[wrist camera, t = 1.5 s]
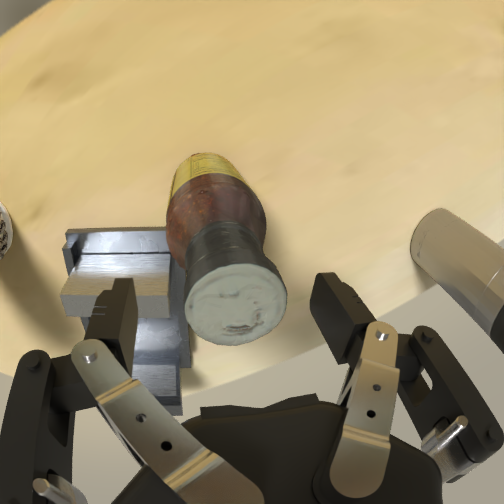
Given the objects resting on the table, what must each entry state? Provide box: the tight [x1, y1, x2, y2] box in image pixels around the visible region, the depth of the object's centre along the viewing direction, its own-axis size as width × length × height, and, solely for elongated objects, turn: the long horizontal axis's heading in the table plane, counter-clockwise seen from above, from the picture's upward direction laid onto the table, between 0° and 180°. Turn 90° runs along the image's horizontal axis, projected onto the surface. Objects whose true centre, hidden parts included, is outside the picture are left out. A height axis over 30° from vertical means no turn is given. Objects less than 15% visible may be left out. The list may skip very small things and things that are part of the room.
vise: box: [62, 227, 191, 416], centre depth 30 cm, size 13×21×9 cm, turn 175°
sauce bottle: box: [166, 153, 287, 346], centre depth 20 cm, size 7×6×20 cm
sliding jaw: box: [60, 254, 172, 318], centre depth 27 cm, size 10×2×7 cm, turn 85°
